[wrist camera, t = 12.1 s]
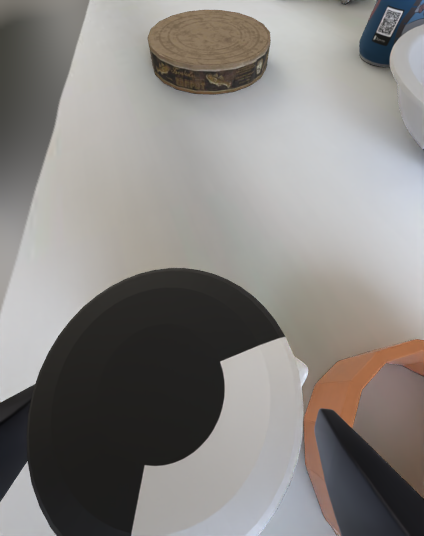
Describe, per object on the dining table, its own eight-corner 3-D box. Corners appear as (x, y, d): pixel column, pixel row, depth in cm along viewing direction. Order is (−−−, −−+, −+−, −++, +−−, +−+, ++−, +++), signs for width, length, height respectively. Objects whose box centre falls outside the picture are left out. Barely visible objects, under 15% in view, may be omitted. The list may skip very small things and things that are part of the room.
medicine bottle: (116, 404, 15) (-114, 433, 4) (188, 314, 18) (151, 195, 7) (208, 493, 13) (190, 915, 3) (273, 377, 16) (400, 346, 5)
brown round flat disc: (129, 73, 33) (121, 45, 30) (192, 28, 39) (190, 1, 37) (232, 108, 29) (234, 79, 27) (284, 52, 36) (290, 25, 33)
